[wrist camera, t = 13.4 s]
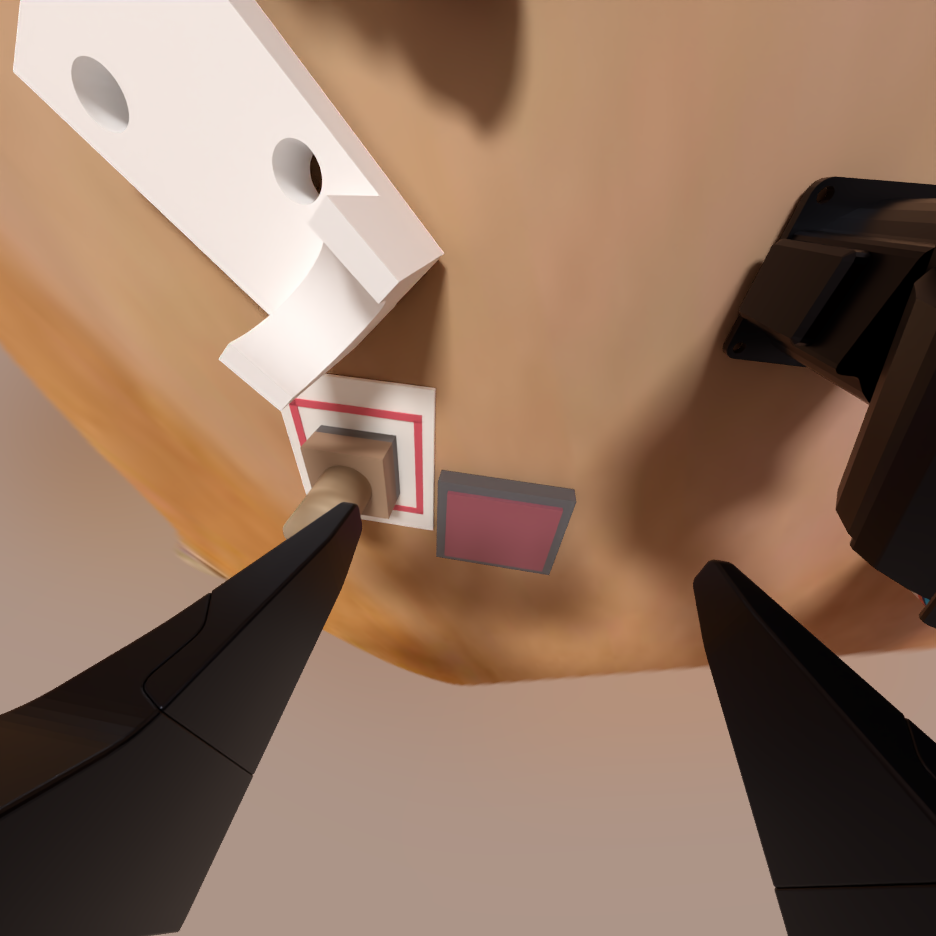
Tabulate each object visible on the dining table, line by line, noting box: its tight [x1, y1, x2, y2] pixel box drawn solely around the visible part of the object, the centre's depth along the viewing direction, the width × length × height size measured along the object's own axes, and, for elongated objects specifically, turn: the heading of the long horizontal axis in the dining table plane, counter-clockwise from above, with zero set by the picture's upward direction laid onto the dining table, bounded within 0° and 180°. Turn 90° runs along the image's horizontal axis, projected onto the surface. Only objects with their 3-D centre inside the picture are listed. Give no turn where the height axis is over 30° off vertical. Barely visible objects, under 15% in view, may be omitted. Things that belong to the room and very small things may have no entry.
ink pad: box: [436, 470, 576, 575], centre depth 25 cm, size 9×8×2 cm
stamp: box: [283, 425, 400, 540], centre depth 21 cm, size 5×5×7 cm
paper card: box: [281, 374, 436, 531], centre depth 24 cm, size 10×12×1 cm
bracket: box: [13, 0, 444, 411], centre depth 12 cm, size 13×7×8 cm, turn 41°
